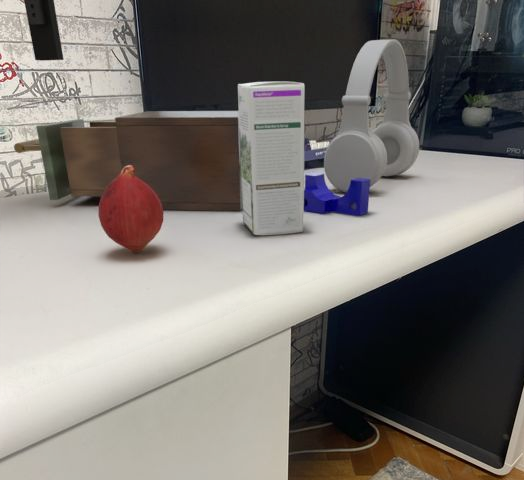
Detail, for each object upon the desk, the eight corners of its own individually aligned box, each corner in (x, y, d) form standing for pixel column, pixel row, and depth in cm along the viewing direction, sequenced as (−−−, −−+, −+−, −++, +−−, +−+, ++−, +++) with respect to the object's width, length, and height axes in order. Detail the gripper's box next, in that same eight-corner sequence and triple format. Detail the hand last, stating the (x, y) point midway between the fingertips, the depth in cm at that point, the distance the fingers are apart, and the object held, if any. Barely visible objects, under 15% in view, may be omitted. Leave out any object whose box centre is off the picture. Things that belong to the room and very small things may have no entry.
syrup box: (305, 232, 57) (309, 81, 50) (251, 236, 56) (248, 82, 49) (289, 220, 62) (291, 80, 55) (240, 224, 61) (235, 81, 54)
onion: (110, 264, 48) (96, 172, 44) (100, 248, 53) (87, 163, 49) (173, 256, 50) (165, 167, 46) (158, 241, 55) (150, 159, 51)
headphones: (369, 172, 92) (379, 44, 84) (417, 175, 88) (433, 41, 80) (320, 192, 77) (325, 37, 68) (375, 197, 73) (389, 34, 64)
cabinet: (126, 209, 68) (114, 117, 63) (154, 190, 80) (147, 111, 75) (240, 211, 67) (237, 117, 62) (253, 191, 78) (251, 110, 73)
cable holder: (297, 209, 67) (298, 176, 65) (313, 204, 70) (314, 172, 68) (353, 218, 63) (355, 183, 61) (367, 212, 65) (370, 179, 63)
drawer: (15, 199, 70) (-2, 126, 66) (55, 183, 80) (43, 119, 76) (151, 201, 68) (143, 125, 64) (174, 184, 78) (169, 118, 74)
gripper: (0, -266, 45) (55, 56, 55) (66, -194, 56) (101, 61, 67) (-84, -258, 45) (-13, 58, 56) (-1, -189, 57) (44, 62, 67)
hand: (49, 59), depth 61 cm, fingers closed
